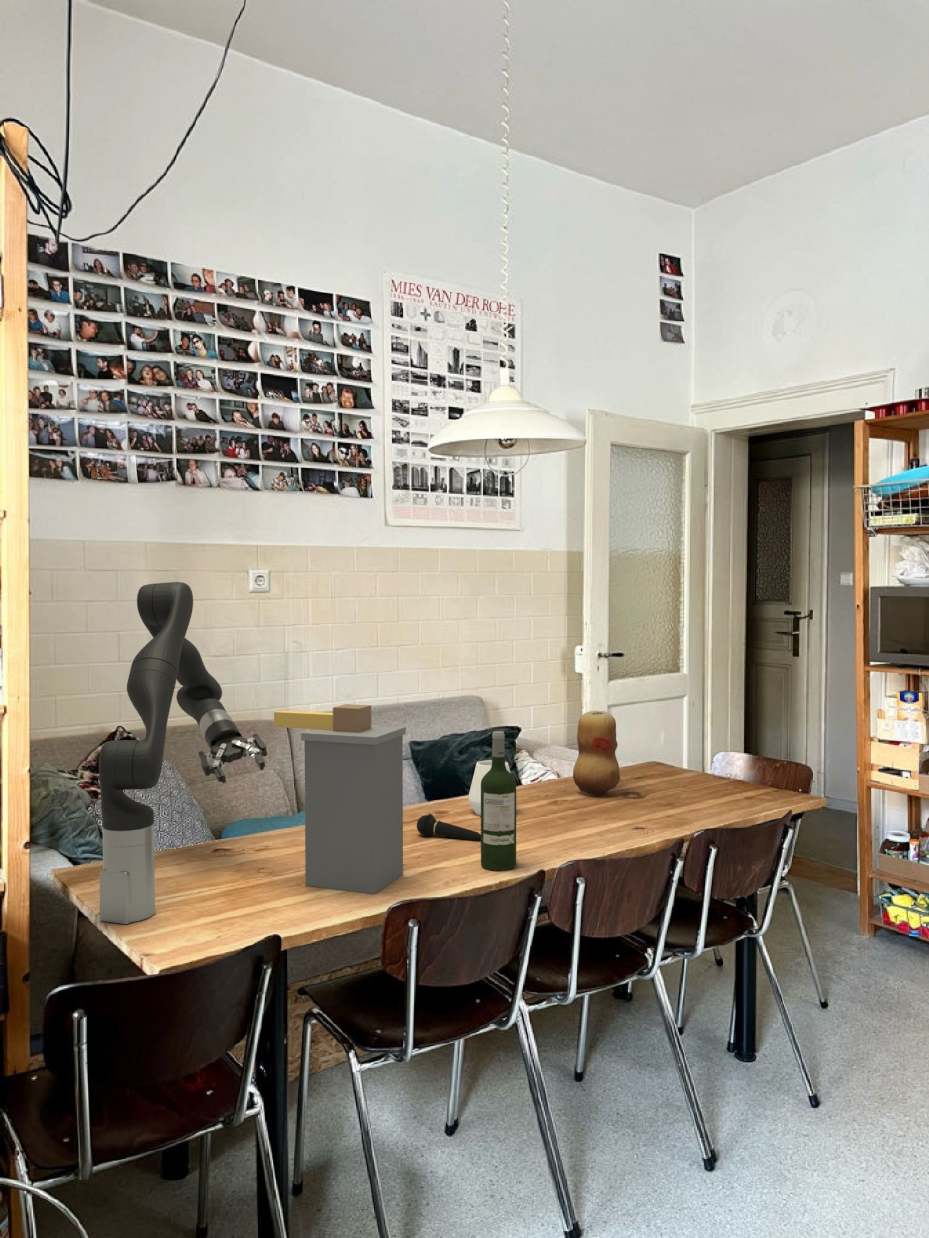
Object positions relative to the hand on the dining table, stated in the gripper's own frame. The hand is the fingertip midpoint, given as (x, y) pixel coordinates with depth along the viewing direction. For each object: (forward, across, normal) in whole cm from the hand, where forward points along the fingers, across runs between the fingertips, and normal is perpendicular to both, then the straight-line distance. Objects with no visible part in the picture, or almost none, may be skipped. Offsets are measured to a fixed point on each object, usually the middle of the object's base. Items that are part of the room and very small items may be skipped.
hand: (243, 773), depth 206 cm
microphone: (+12, +45, +33) cm, 57 cm away
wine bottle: (+34, +45, +21) cm, 60 cm away
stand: (+26, +14, +16) cm, 33 cm away
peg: (+6, +16, -10) cm, 20 cm away
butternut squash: (-5, +104, +58) cm, 119 cm away
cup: (-3, +66, +46) cm, 81 cm away
